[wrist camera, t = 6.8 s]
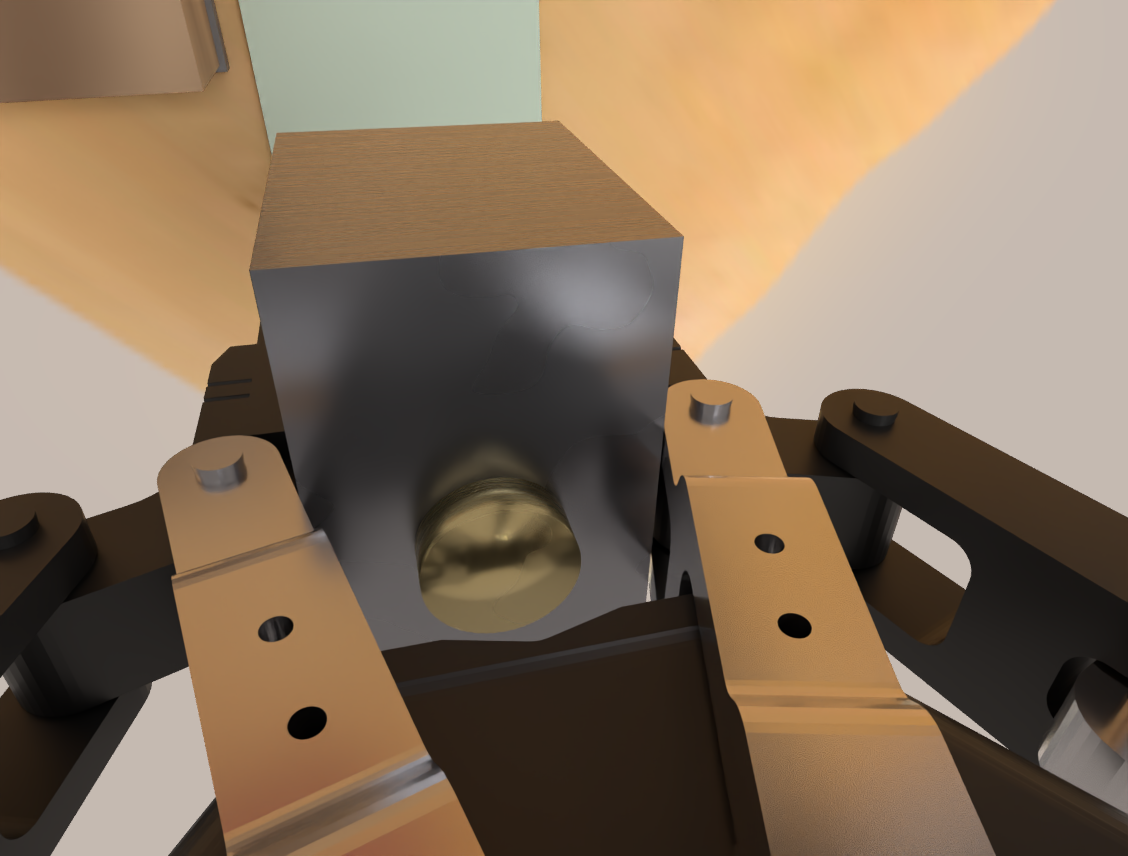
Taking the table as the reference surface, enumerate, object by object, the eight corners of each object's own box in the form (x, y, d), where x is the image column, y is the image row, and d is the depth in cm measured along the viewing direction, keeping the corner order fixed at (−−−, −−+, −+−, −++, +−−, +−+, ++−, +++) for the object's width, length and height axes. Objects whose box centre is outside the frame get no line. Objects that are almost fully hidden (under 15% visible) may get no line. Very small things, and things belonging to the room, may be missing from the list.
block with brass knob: (558, 121, 12) (708, 259, 7) (554, 491, 15) (649, 732, 11) (276, 132, 11) (243, 299, 6) (347, 522, 15) (358, 796, 10)
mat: (535, -33, 27) (538, -33, 27) (542, 218, 32) (544, 221, 32) (234, -24, 25) (233, -23, 25) (291, 242, 30) (291, 246, 30)
